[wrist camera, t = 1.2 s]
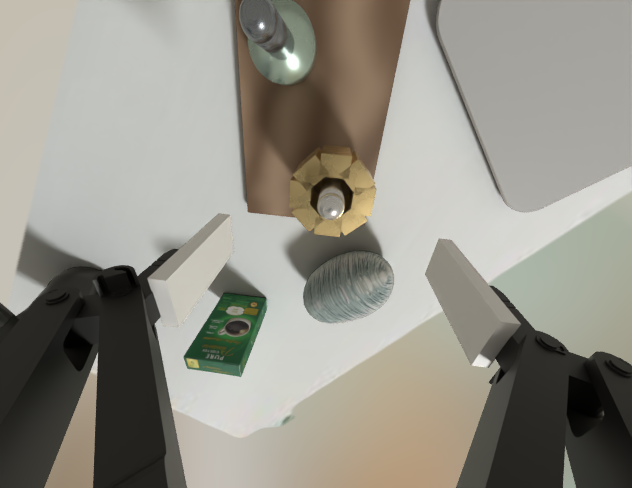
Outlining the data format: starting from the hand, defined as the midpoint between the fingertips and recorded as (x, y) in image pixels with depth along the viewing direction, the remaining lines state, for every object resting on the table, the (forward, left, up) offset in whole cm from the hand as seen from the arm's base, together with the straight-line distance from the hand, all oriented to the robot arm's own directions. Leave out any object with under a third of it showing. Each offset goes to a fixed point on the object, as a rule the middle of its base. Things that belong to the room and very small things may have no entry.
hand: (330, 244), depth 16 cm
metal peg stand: (-6, +12, -17) cm, 22 cm away
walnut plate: (-3, +6, -18) cm, 19 cm away
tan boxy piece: (0, 0, -14) cm, 14 cm away
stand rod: (0, 0, -17) cm, 17 cm away
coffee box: (-13, -24, -18) cm, 33 cm away
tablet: (+21, +12, -19) cm, 30 cm away
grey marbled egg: (+4, -15, -19) cm, 24 cm away
